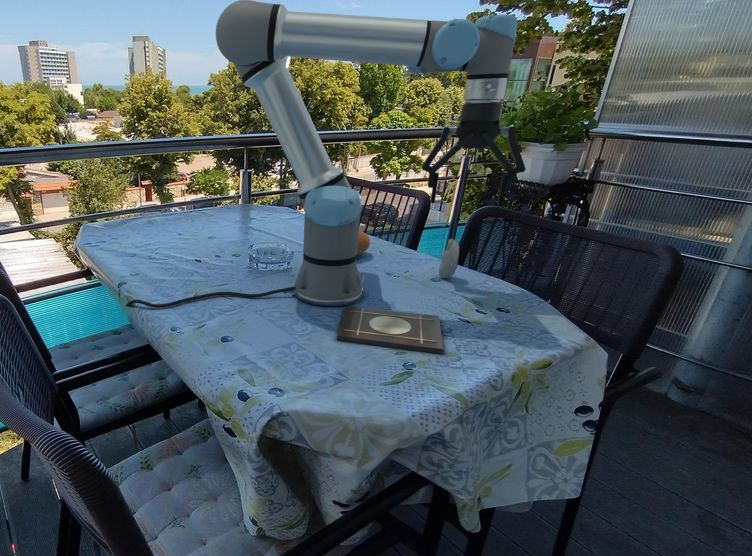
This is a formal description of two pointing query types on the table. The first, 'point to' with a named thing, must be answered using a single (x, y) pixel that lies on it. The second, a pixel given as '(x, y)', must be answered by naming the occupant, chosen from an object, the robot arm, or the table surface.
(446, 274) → the fossil
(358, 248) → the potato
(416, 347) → the board
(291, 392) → the table surface
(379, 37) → the robot arm
